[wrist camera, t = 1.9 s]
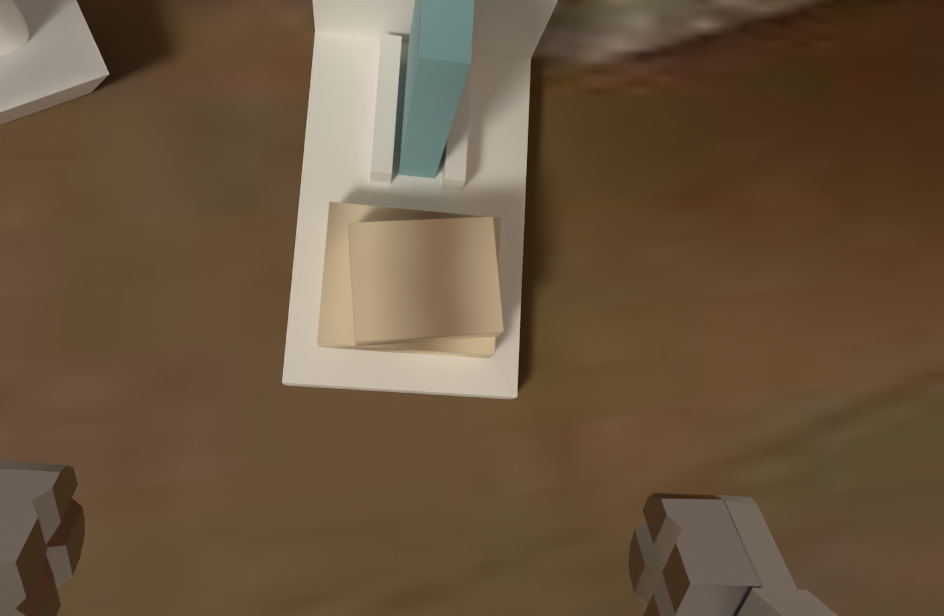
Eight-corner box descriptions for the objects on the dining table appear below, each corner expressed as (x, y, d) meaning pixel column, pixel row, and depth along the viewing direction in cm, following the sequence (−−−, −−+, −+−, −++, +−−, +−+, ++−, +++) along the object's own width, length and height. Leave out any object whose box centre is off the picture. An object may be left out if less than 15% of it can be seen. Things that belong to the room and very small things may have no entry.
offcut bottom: (318, 347, 37) (317, 342, 35) (330, 213, 38) (329, 201, 36) (488, 358, 38) (494, 354, 36) (494, 228, 39) (501, 217, 37)
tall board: (398, 174, 39) (418, 57, 27) (406, 61, 40) (429, -99, 28) (434, 178, 39) (471, 63, 27) (441, 65, 40) (479, -92, 28)
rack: (284, 385, 37) (242, 347, 23) (319, 19, 41) (301, -217, 26) (510, 399, 39) (606, 372, 24) (525, 46, 42) (617, -164, 28)
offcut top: (355, 346, 35) (355, 341, 33) (348, 233, 36) (348, 222, 34) (496, 336, 36) (503, 331, 34) (486, 227, 37) (492, 216, 35)
